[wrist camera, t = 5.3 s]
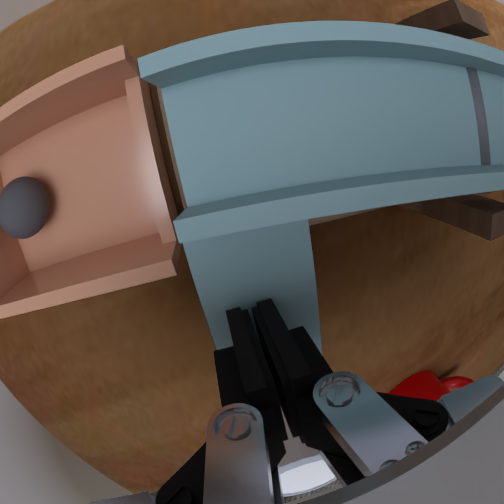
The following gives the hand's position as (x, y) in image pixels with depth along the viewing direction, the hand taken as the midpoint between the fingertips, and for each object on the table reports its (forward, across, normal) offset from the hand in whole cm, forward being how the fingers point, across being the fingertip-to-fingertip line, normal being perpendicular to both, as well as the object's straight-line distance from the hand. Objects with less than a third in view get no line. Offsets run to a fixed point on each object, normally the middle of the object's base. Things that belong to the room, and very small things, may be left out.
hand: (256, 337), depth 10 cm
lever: (-1, -10, -3) cm, 10 cm away
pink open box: (+6, +7, -7) cm, 11 cm away
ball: (+4, +9, -7) cm, 12 cm away
